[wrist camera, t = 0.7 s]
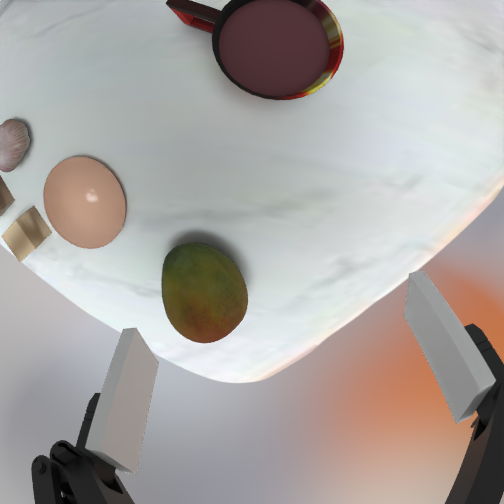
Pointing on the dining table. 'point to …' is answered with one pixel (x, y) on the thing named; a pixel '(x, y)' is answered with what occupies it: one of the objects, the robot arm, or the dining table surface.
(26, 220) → the oak block
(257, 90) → the mug
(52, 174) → the peach ellipsoid
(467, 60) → the dining table surface
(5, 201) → the walnut block
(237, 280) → the fruit
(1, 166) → the garlic bulb
